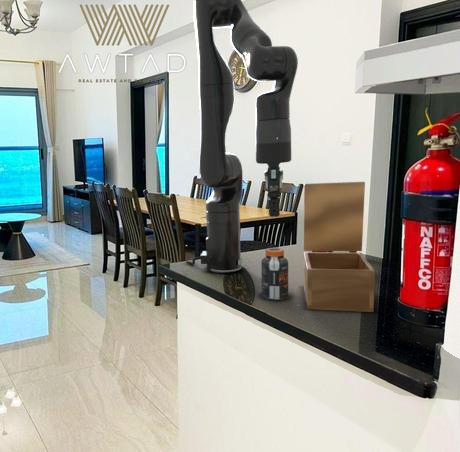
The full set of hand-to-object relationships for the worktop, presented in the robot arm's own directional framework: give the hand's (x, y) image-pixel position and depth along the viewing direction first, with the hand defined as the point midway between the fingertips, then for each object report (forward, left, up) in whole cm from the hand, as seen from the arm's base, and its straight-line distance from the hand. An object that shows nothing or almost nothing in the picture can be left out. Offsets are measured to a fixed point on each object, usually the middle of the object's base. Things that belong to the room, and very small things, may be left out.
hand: (274, 213), depth 104 cm
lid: (+13, +6, -2) cm, 15 cm away
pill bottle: (0, 0, -20) cm, 20 cm away
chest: (+13, 0, -20) cm, 23 cm away
